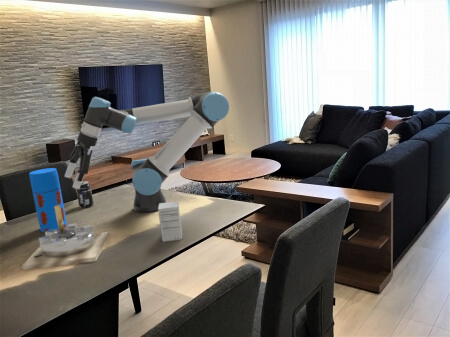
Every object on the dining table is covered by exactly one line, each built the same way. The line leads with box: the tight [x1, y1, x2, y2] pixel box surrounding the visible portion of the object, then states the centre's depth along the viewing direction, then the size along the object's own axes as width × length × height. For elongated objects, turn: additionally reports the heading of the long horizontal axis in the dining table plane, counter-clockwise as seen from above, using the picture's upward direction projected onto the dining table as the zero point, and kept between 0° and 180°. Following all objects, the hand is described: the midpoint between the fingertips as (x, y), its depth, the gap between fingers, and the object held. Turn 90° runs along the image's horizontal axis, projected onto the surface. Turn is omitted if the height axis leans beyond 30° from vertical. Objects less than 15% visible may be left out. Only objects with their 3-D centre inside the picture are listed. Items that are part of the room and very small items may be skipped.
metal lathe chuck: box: [38, 205, 95, 257], centre depth 150 cm, size 18×18×14 cm
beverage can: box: [75, 180, 94, 209], centre depth 207 cm, size 7×7×12 cm
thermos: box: [28, 167, 68, 233], centre depth 177 cm, size 11×11×25 cm
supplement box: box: [157, 200, 183, 242], centre depth 154 cm, size 7×7×13 cm
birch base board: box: [21, 231, 110, 271], centre depth 151 cm, size 24×24×2 cm
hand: (71, 182), depth 173 cm, fingers open, 13 cm apart
